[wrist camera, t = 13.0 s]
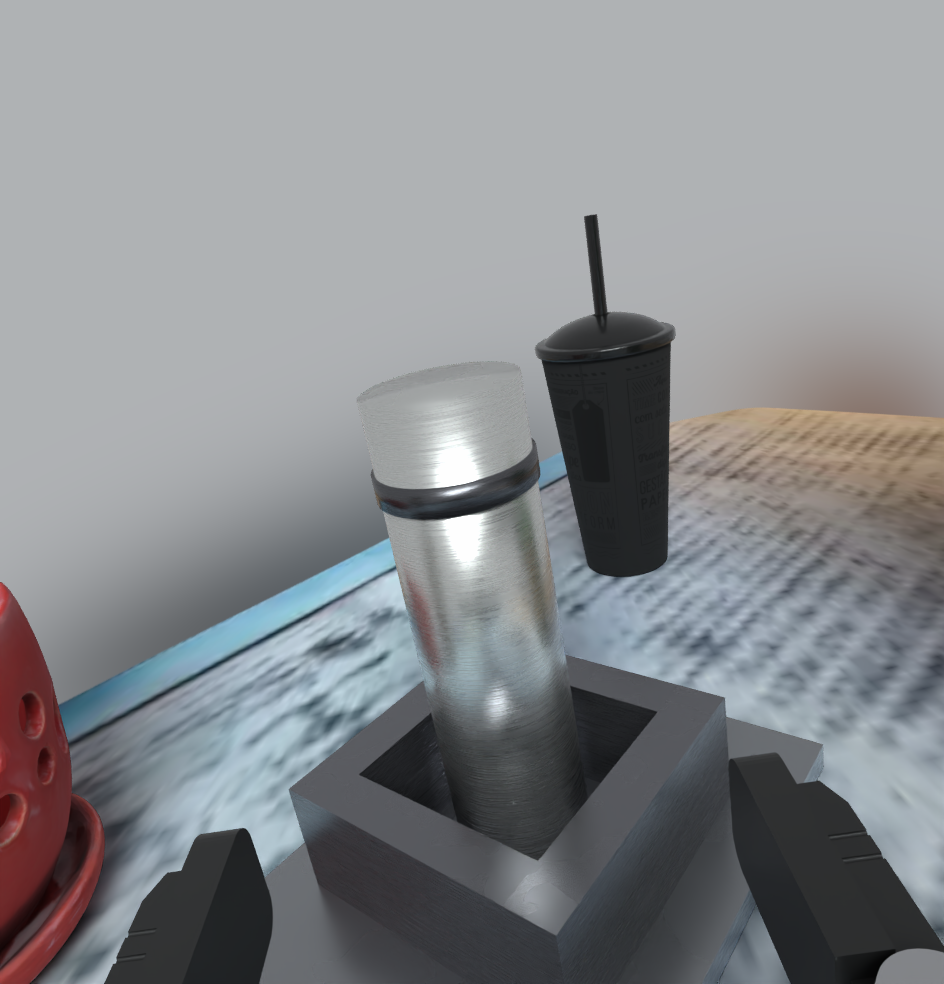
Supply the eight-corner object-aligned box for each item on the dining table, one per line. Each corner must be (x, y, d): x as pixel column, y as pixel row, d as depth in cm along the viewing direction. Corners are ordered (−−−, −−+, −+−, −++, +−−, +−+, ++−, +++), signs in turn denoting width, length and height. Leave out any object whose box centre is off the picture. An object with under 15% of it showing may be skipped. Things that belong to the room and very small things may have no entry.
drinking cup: (716, 568, 44) (692, 199, 37) (590, 600, 43) (542, 226, 36) (658, 523, 51) (629, 206, 44) (549, 549, 50) (502, 229, 43)
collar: (517, 674, 37) (502, 582, 36) (823, 766, 28) (821, 650, 27) (194, 969, 25) (147, 850, 23) (561, 1300, 16) (527, 1144, 14)
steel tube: (513, 774, 29) (431, 361, 23) (621, 819, 26) (557, 359, 21) (434, 860, 26) (317, 407, 20) (547, 922, 23) (448, 413, 17)
